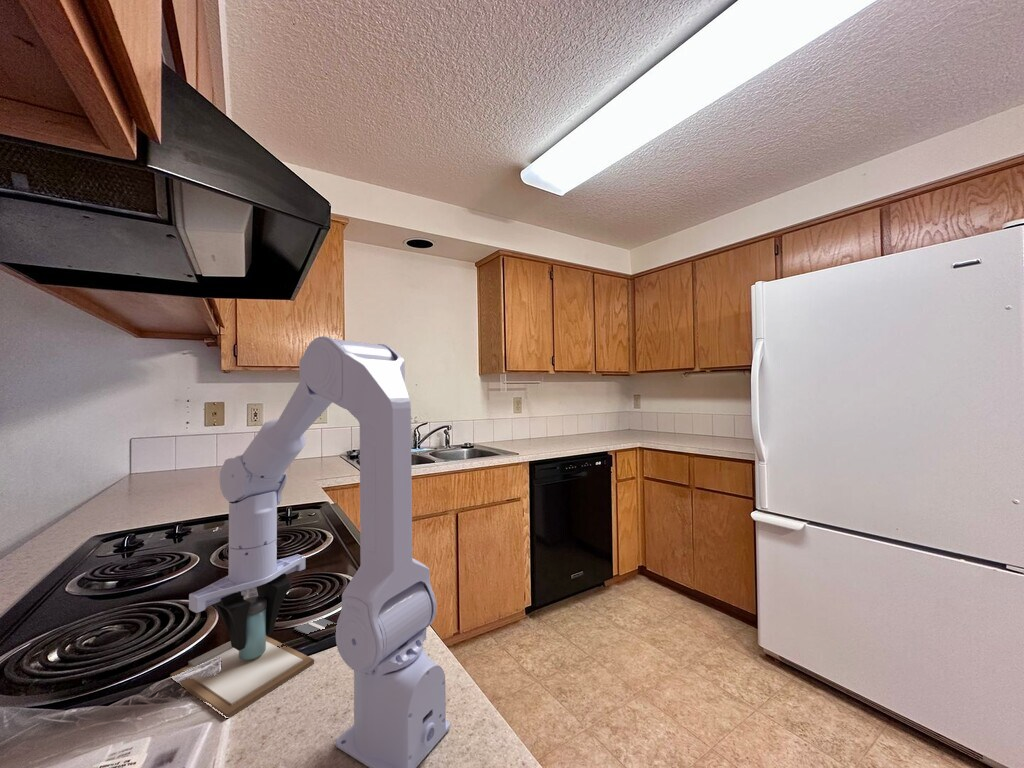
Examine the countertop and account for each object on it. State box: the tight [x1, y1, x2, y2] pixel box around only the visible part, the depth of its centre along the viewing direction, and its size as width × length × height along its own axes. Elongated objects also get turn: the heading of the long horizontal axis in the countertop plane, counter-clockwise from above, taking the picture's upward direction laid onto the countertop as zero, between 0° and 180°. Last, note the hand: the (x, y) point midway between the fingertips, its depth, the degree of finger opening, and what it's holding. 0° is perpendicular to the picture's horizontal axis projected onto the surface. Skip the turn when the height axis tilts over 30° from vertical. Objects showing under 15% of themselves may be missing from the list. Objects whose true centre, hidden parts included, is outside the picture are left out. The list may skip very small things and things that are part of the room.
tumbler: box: [239, 596, 267, 660], centre depth 57 cm, size 3×3×7 cm
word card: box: [293, 617, 337, 634], centre depth 65 cm, size 6×4×1 cm, turn 61°
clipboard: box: [170, 635, 315, 718], centre depth 55 cm, size 14×11×1 cm
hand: (252, 639), depth 57 cm, fingers closed on tumbler, 3 cm apart
